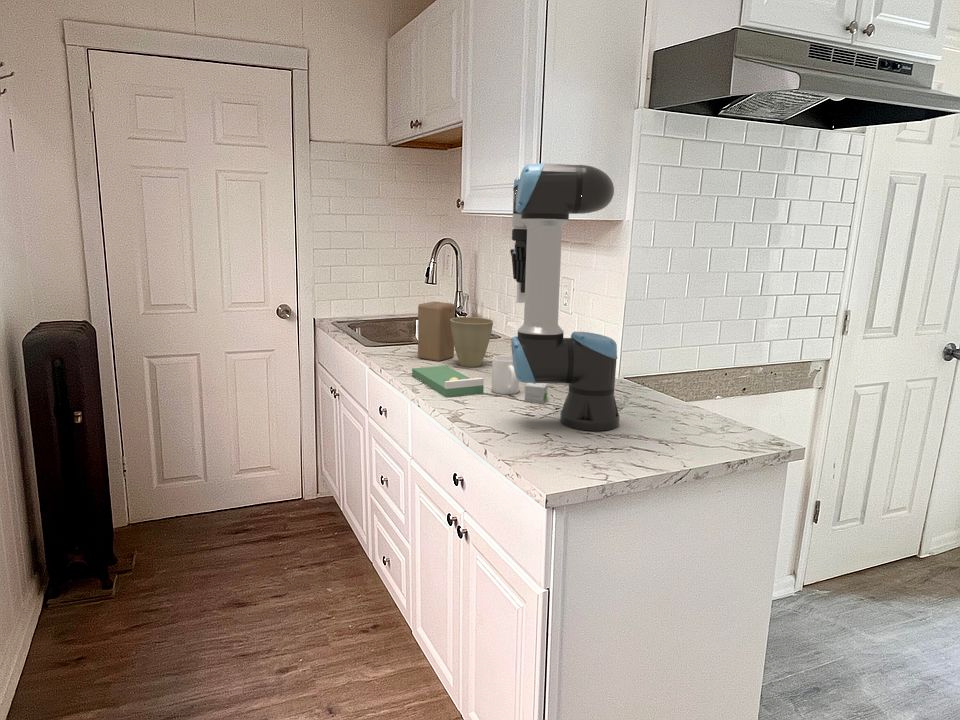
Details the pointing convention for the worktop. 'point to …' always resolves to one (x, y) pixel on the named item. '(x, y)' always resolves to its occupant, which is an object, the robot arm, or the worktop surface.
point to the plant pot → (471, 339)
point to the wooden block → (435, 330)
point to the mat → (440, 381)
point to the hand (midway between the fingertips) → (521, 302)
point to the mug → (504, 375)
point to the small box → (536, 392)
